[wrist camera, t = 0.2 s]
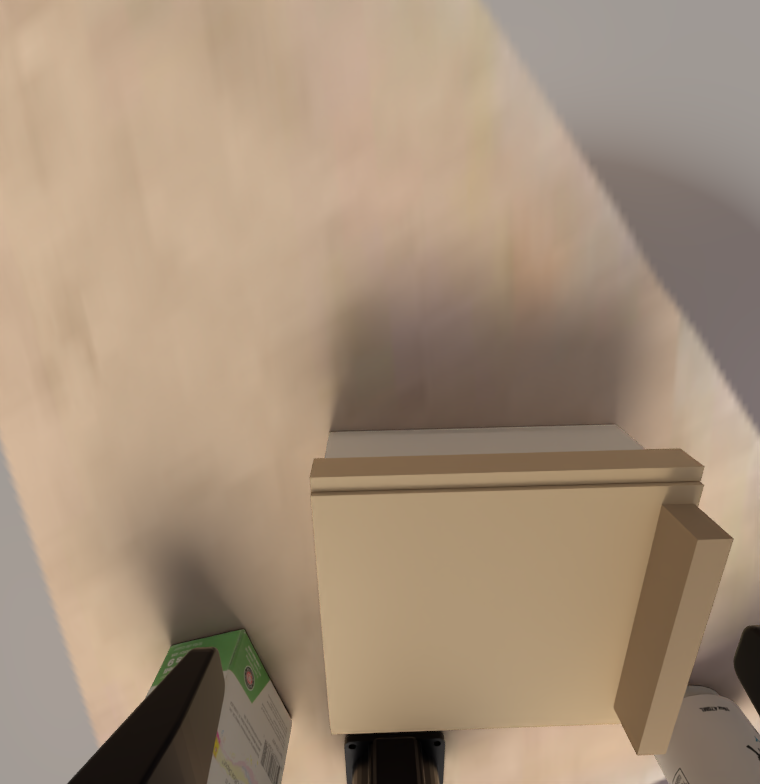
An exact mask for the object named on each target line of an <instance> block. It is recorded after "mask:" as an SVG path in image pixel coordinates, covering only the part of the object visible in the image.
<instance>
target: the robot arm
mask: <svg viewBox="0 0 760 784" xmlns="http://www.w3.org/2000/svg"><path fill="white" fill-rule="evenodd" d="M734 668H735V671H736V674H737V676H738V678H739V680H740V682H741V684H742V686H743V687H744V689H745V691H746V693H747V695H748V696H749V698H750V700H751V702H752V704H753V705H754V707H755V709H756V711H757V713H758V714H759V716H760V625H752V626H748V627H746V628H745V629H744V631H743V633H742V636H741V639H740V642H739V645H738V647H737V650H736V653H735V656H734ZM224 693H225V679H224V674H223V669H222V664H221V659H220V655H219V651H218V649H217V648H216V647H197V648H193V649H191V650H190V651H189V652H188V653H187V654H186V655H185V656H184V657H183V658H182V659H181V660H180V661H179V662H178V664H177V665H176V666H175V667H174V668H173V669H172V670H171V671H170V672H169V673H168V674H167V676H166V677H165V678H164V679H163V680H162V681H161V682H160V683H159V684H158V685H157V686H156V688H155V689H154V690H153V691H152V692H151V693H150V694H149V695H148V696H147V697H146V698H145V700H144V701H143V702H142V703H141V704H140V705H139V706H138V707H137V708H136V709H135V710H134V711H133V713H132V714H131V715H130V716H129V717H128V718H127V719H126V720H125V721H124V722H123V723H122V725H121V726H120V727H119V728H118V729H117V730H116V731H115V732H114V733H113V734H112V735H111V737H110V738H109V739H108V740H107V741H106V742H105V743H104V744H103V745H102V746H101V747H100V748H99V750H98V751H97V752H96V753H95V754H94V755H93V756H92V757H91V758H90V759H89V760H88V762H87V763H86V764H85V765H84V766H83V767H82V768H81V769H80V770H79V772H77V774H76V775H75V776H74V777H73V778H72V779H71V780H70V781H69V782H68V784H207V781H208V776H209V770H210V765H211V760H212V755H213V750H214V745H215V740H216V735H217V730H218V725H219V720H220V715H221V710H222V705H223V700H224ZM444 752H445V740H444V735H443V734H442V733H440V732H423V733H396V734H369V735H350V736H347V737H346V738H345V761H346V776H347V784H443V772H444Z"/></svg>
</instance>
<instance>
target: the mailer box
mask: <svg viewBox="0 0 760 784" xmlns="http://www.w3.org/2000/svg"><path fill="white" fill-rule="evenodd" d="M608 450H645V448H644V447H643V446H641V445H640V444H639V443H638V442H637V441H635V440H634V439H633V438H632V437H631V436H629V435H628V434H627V433H626V432H625V431H623V430H622V429H621V428H620V427H619V426H618V425H616V424H609V425H572V426H534V427H496V428H459V429H421V430H383V431H345V432H329V437H328V442H327V448H326V453H325V458H353V457H390V456H426V455H463V454H499V453H535V452H572V451H608Z"/></svg>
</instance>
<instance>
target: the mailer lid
mask: <svg viewBox="0 0 760 784" xmlns="http://www.w3.org/2000/svg"><path fill="white" fill-rule="evenodd" d="M703 470H704V466H703V465H702V464H700V463H699V462H698V461H696V460H695V459H694V458H692V457H691V456H690V455H688V454H687V453H686V452H684V451H683V450H681V449H645V450H608V451H572V452H535V453H499V454H463V455H426V456H390V457H353V458H317V459H314V461H313V465H312V470H311V474H310V487H311V496H310V498H311V510H312V521H313V533H314V545H315V557H316V569H317V580H318V592H319V604H320V616H321V628H322V639H323V651H324V663H325V675H326V686H327V698H328V710H329V722H330V730H331V734H357V733H384V732H412V731H439V730H466V729H493V728H520V727H547V726H574V725H601V724H622V726H623V728H624V730H625V732H626V734H627V736H628V738H629V740H630V742H631V744H632V746H633V748H634V750H635V752H636V754H637V755H661V754H666V751H667V748H668V745H669V742H670V739H671V736H672V732H673V729H674V726H675V723H676V720H677V717H678V713H679V710H680V707H681V704H682V701H683V698H684V694H685V691H686V688H687V685H688V682H689V679H690V675H691V672H692V669H693V666H694V663H695V659H696V656H697V653H698V650H699V647H700V644H701V640H702V637H703V634H704V631H705V628H706V625H707V621H708V618H709V615H710V612H711V609H712V606H713V602H714V599H715V596H716V593H717V590H718V587H719V583H720V580H721V577H722V574H723V571H724V568H725V564H726V561H727V558H728V555H729V552H730V549H731V545H732V542H733V538H732V537H731V536H730V535H729V534H728V533H726V532H725V531H724V530H723V529H722V528H721V527H720V526H719V525H717V524H716V523H715V522H714V521H713V520H712V519H711V518H709V517H708V516H707V515H706V514H705V513H704V512H703V511H702V510H700V509H699V508H698V505H699V502H700V498H701V494H702V491H703V487H704V485H703V484H702V483H701V482H700V481H701V478H702V474H703Z"/></svg>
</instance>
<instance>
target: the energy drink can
mask: <svg viewBox="0 0 760 784" xmlns="http://www.w3.org/2000/svg"><path fill="white" fill-rule="evenodd" d="M654 756H655V758H656V760H657V762H658V764H659V766H660V767H661V769H662V771H663V773H664V775H665V777H666V779H667V781H668V783H669V784H760V735H759V733H758V732H757V731H756V729H755V728H754V727H753V725H752V724H751V723H750V721H749V720H748V719H747V717H746V716H745V715H744V713H743V712H742V711H741V709H740V708H739V707H738V705H737V704H735V703H734V702H733V701H732V700H730V699H728V698H726V697H723V696H719V694H717V693H716V692H715V691H714V690H712V689H710V688H707V687H703V686H687V688H686V691H685V694H684V698H683V701H682V704H681V707H680V710H679V713H678V717H677V720H676V723H675V726H674V729H673V732H672V736H671V739H670V742H669V745H668V748H667V751H666V754H661V755H654Z"/></svg>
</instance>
